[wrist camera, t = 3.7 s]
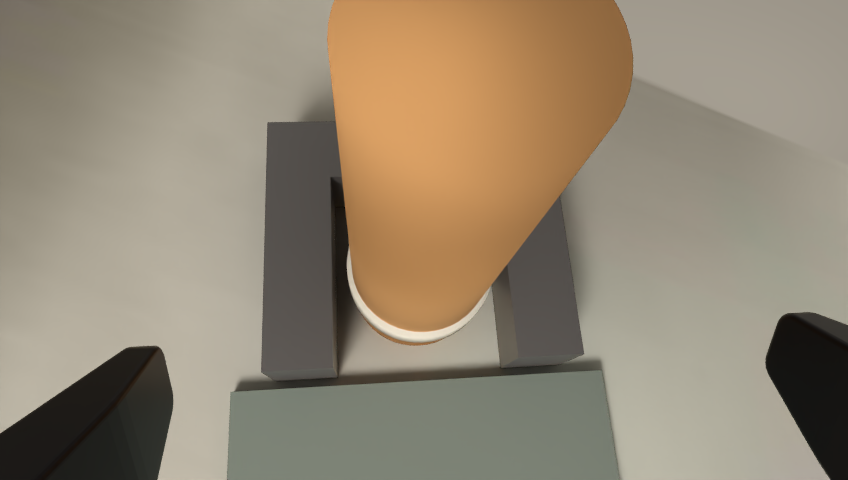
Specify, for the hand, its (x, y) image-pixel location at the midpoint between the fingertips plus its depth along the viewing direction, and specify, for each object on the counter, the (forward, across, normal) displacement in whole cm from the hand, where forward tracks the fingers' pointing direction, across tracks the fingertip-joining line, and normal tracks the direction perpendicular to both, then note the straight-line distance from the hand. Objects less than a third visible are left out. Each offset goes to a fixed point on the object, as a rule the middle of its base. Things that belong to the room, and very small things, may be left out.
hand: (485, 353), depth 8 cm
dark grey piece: (+11, 0, +5) cm, 12 cm away
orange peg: (+11, 0, +5) cm, 12 cm away
